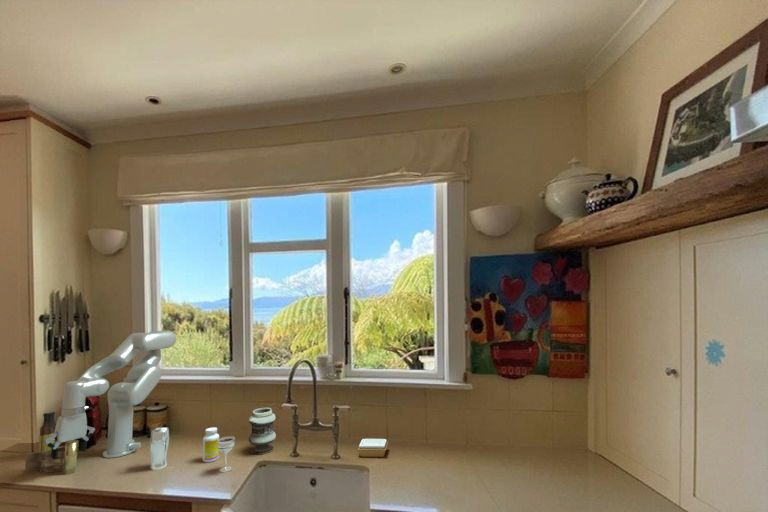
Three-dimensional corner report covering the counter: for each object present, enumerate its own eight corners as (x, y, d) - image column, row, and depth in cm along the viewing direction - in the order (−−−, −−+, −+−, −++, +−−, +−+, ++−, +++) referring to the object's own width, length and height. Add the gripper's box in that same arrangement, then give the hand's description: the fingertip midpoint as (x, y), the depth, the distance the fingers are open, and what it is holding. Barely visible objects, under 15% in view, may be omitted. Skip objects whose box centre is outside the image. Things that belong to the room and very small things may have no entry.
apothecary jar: (243, 455, 172) (244, 413, 174) (255, 444, 184) (256, 406, 186) (269, 455, 170) (269, 413, 172) (279, 445, 182) (280, 406, 184)
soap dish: (388, 449, 174) (388, 438, 175) (386, 458, 165) (385, 446, 165) (361, 449, 176) (361, 437, 176) (357, 458, 166) (357, 445, 167)
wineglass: (230, 473, 154) (230, 441, 155) (213, 473, 154) (214, 442, 156) (237, 465, 161) (237, 435, 162) (221, 465, 161) (221, 436, 162)
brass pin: (78, 469, 160) (80, 439, 162) (72, 474, 157) (74, 443, 158) (67, 470, 160) (69, 440, 161) (61, 474, 156) (63, 444, 157)
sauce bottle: (60, 454, 178) (63, 410, 180) (47, 460, 171) (50, 414, 174) (47, 454, 178) (50, 410, 180) (33, 459, 172) (37, 414, 174)
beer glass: (148, 471, 157) (150, 433, 159) (149, 465, 163) (151, 428, 165) (167, 468, 160) (169, 430, 162) (168, 462, 166) (169, 426, 168)
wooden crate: (86, 455, 176) (87, 438, 177) (63, 470, 160) (64, 452, 161) (46, 458, 173) (47, 441, 174) (18, 474, 157) (19, 456, 158)
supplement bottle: (221, 459, 168) (222, 428, 169) (206, 464, 163) (207, 432, 165) (215, 455, 172) (215, 425, 174) (199, 459, 168) (200, 429, 169)
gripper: (92, 406, 170) (88, 446, 168) (43, 415, 155) (38, 460, 153) (100, 407, 166) (97, 449, 164) (51, 417, 151) (46, 463, 149)
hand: (68, 454), depth 158 cm, fingers open, 9 cm apart
